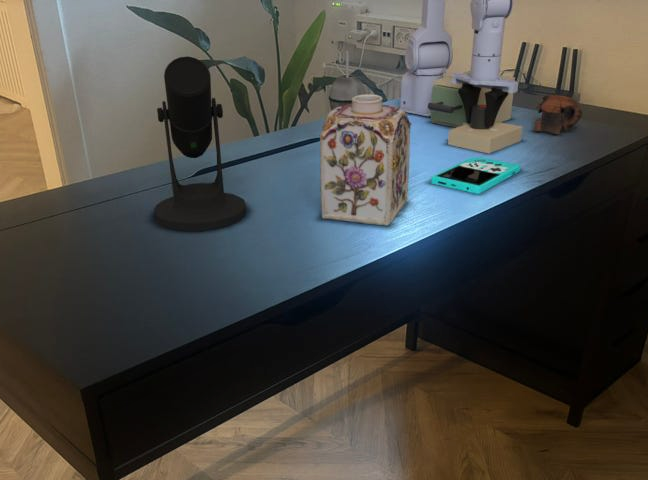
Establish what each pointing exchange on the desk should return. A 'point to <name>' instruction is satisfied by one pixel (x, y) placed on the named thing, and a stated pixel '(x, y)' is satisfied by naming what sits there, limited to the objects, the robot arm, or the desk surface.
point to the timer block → (485, 137)
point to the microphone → (194, 151)
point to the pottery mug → (557, 114)
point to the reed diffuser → (345, 88)
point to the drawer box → (481, 99)
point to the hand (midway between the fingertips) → (479, 124)
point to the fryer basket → (447, 105)
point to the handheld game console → (475, 174)
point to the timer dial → (478, 117)
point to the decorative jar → (364, 161)
